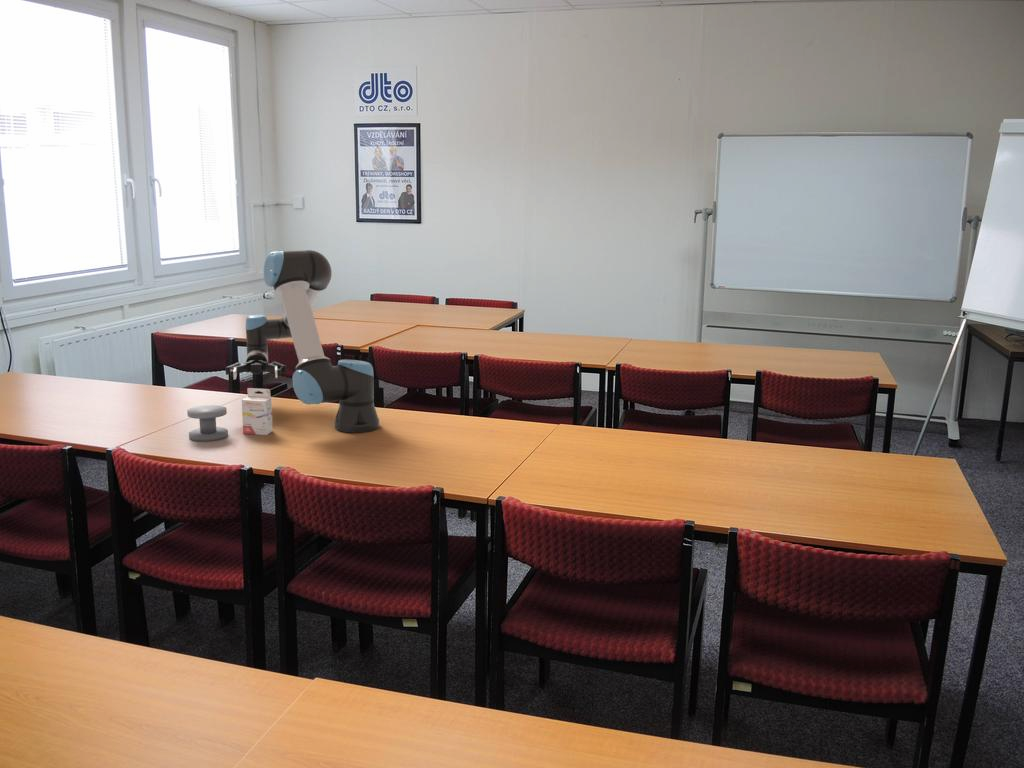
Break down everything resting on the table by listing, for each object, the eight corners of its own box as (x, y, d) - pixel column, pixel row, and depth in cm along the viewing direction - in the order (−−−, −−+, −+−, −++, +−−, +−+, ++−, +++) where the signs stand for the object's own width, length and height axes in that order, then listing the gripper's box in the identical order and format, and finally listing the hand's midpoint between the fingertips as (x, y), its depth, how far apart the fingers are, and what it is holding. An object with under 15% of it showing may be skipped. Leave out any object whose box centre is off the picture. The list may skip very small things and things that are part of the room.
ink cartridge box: (242, 434, 275) (240, 390, 272) (248, 430, 280) (246, 387, 277) (267, 435, 274) (265, 391, 271) (273, 431, 279) (271, 388, 276)
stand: (235, 434, 275) (234, 407, 273) (209, 443, 264) (207, 416, 262) (208, 429, 280) (206, 403, 278) (180, 438, 269) (178, 411, 267)
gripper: (292, 371, 307) (293, 384, 287) (221, 373, 301) (217, 386, 281) (291, 351, 306) (292, 363, 286) (220, 352, 299) (216, 365, 279)
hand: (255, 374), depth 283 cm, fingers open, 13 cm apart
